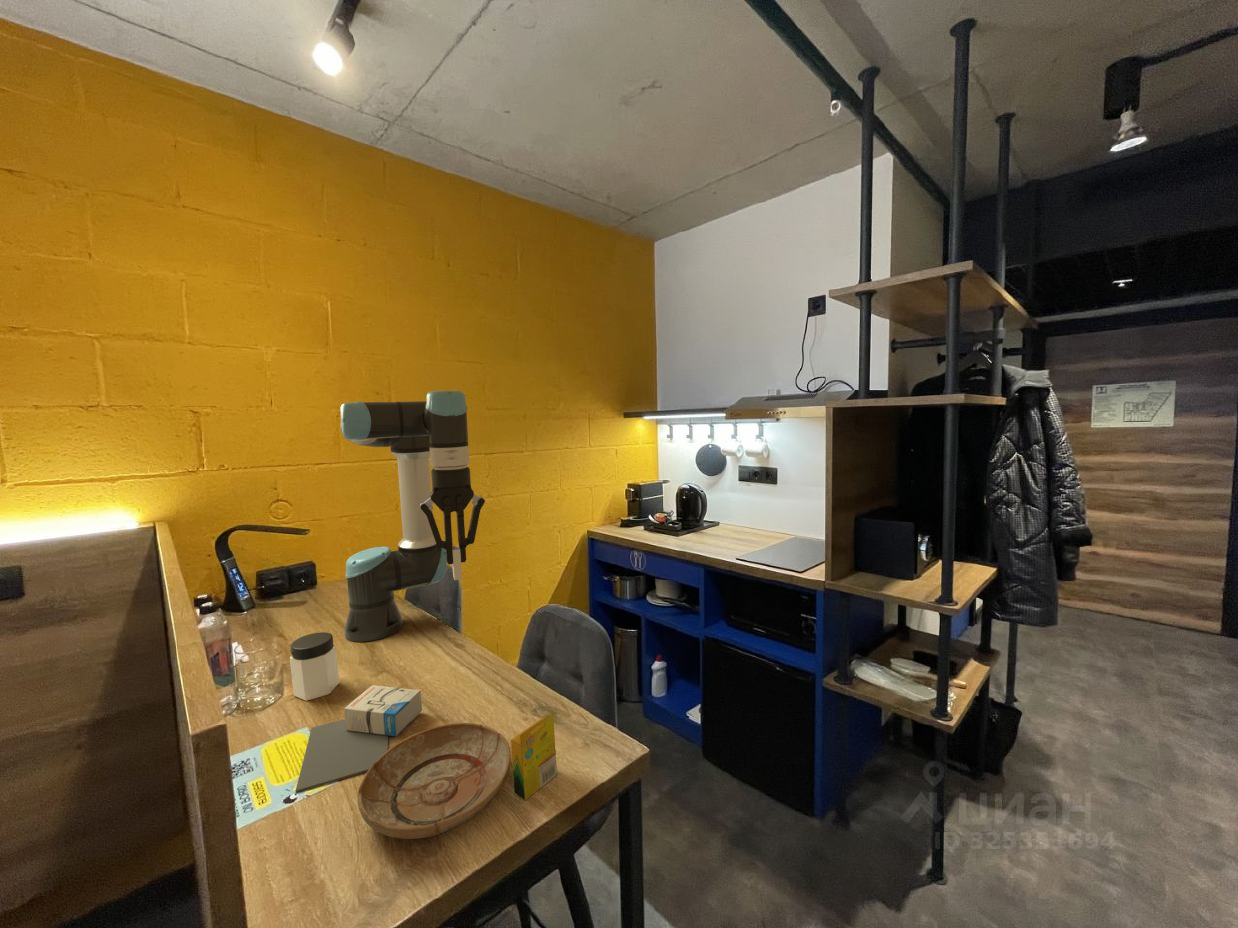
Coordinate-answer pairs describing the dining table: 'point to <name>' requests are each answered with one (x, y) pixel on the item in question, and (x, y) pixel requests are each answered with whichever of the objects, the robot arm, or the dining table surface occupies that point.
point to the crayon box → (534, 757)
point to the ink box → (383, 710)
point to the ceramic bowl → (434, 780)
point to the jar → (314, 666)
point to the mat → (338, 754)
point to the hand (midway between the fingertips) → (457, 577)
